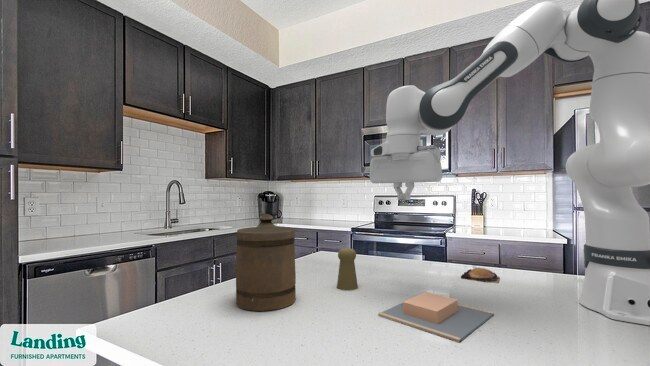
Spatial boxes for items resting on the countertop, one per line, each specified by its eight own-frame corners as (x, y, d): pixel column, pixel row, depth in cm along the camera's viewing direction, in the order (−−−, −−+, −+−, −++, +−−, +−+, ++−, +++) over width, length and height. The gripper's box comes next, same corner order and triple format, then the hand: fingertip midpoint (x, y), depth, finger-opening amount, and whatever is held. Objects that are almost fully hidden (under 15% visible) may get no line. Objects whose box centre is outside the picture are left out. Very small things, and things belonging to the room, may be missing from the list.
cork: (362, 287, 91) (361, 249, 92) (345, 291, 88) (345, 251, 88) (349, 282, 96) (348, 246, 97) (332, 286, 93) (332, 248, 93)
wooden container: (283, 288, 91) (283, 211, 92) (304, 305, 78) (304, 214, 79) (230, 297, 84) (230, 213, 85) (244, 316, 71) (243, 217, 72)
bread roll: (500, 279, 101) (500, 267, 101) (498, 286, 94) (498, 273, 94) (463, 274, 107) (463, 263, 107) (459, 280, 100) (459, 268, 100)
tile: (425, 302, 78) (458, 310, 72) (403, 313, 71) (437, 323, 65) (425, 291, 78) (458, 299, 72) (403, 302, 71) (437, 311, 65)
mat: (493, 315, 71) (493, 312, 71) (459, 342, 58) (459, 339, 58) (419, 296, 84) (419, 294, 84) (378, 315, 71) (378, 313, 71)
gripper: (446, 145, 80) (447, 200, 80) (379, 152, 95) (379, 199, 94) (434, 142, 76) (435, 201, 75) (366, 150, 90) (366, 199, 90)
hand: (403, 200), depth 85 cm, fingers closed
